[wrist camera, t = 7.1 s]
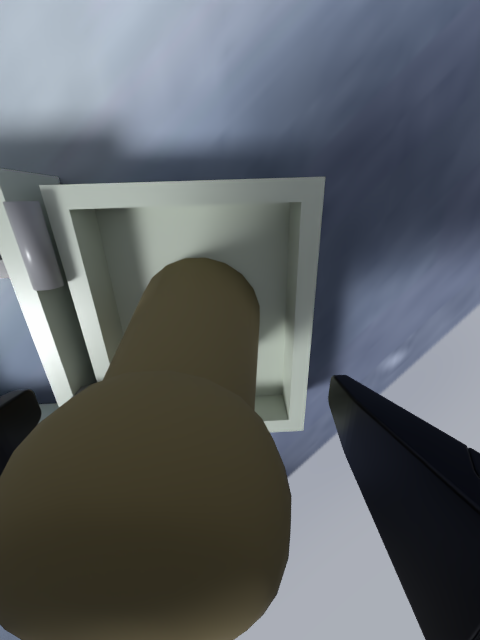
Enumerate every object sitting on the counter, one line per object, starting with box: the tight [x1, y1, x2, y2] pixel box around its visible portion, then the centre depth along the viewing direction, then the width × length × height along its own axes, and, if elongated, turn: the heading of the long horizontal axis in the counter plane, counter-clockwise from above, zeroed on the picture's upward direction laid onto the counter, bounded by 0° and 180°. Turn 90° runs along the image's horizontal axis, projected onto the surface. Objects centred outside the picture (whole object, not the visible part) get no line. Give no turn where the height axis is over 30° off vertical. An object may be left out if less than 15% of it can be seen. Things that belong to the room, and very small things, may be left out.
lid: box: [39, 177, 325, 432], centre depth 13 cm, size 12×10×3 cm
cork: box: [0, 257, 291, 640], centre depth 9 cm, size 6×6×11 cm
